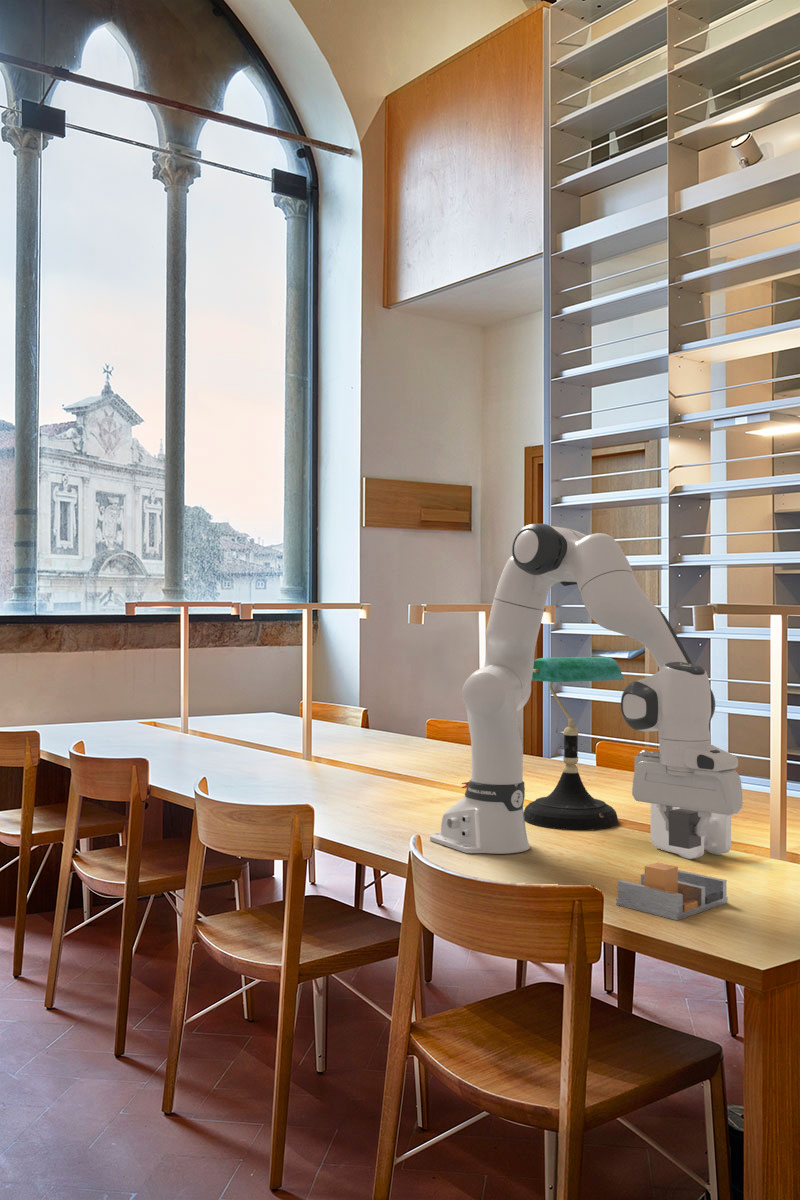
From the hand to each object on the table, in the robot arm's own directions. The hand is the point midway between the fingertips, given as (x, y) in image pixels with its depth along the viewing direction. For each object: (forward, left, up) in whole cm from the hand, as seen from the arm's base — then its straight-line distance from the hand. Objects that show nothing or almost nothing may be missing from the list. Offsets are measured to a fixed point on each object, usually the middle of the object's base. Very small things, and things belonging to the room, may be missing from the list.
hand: (685, 833), depth 180 cm
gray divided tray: (0, -4, -12) cm, 12 cm away
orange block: (0, -7, -11) cm, 13 cm away
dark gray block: (0, 0, -2) cm, 2 cm away
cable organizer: (-19, +33, -12) cm, 40 cm away
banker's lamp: (-57, +41, -12) cm, 72 cm away
